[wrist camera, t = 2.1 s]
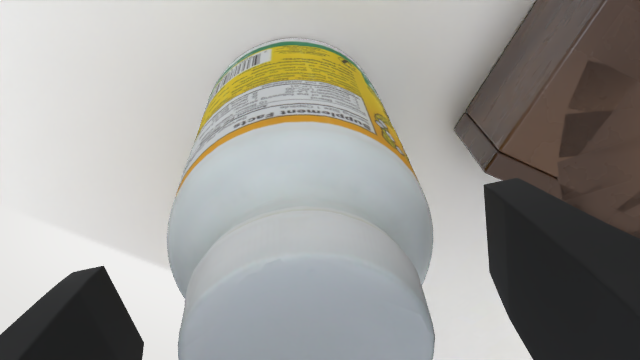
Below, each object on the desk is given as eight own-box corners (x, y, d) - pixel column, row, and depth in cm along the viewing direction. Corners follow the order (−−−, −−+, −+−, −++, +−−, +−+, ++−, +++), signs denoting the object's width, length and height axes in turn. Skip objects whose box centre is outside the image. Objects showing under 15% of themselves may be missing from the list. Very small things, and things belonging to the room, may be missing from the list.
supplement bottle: (212, 22, 15) (121, 190, 6) (396, 46, 16) (530, 226, 7) (205, 187, 17) (132, 463, 9) (363, 202, 18) (434, 471, 10)
